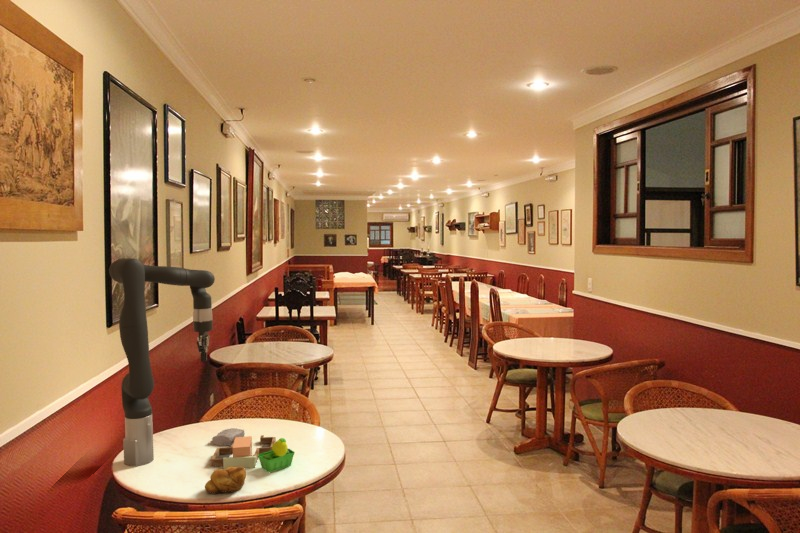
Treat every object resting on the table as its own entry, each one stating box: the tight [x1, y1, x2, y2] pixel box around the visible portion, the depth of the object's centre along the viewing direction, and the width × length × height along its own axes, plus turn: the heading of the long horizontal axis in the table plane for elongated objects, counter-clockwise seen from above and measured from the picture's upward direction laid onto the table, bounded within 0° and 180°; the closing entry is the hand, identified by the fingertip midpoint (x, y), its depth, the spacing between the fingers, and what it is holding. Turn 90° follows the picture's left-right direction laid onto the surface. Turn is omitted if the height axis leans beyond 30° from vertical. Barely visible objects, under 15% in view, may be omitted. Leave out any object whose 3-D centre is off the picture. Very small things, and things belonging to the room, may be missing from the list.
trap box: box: [210, 434, 277, 468], centre depth 217 cm, size 26×21×2 cm
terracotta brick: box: [232, 435, 253, 457], centre depth 210 cm, size 11×6×8 cm, turn 11°
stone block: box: [211, 427, 246, 447], centre depth 232 cm, size 12×5×10 cm
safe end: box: [222, 455, 256, 470], centre depth 204 cm, size 1×11×4 cm, turn 97°
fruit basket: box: [258, 437, 295, 473], centre depth 204 cm, size 11×9×11 cm
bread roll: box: [204, 467, 247, 494], centre depth 187 cm, size 13×10×8 cm
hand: (204, 361), depth 233 cm, fingers closed
